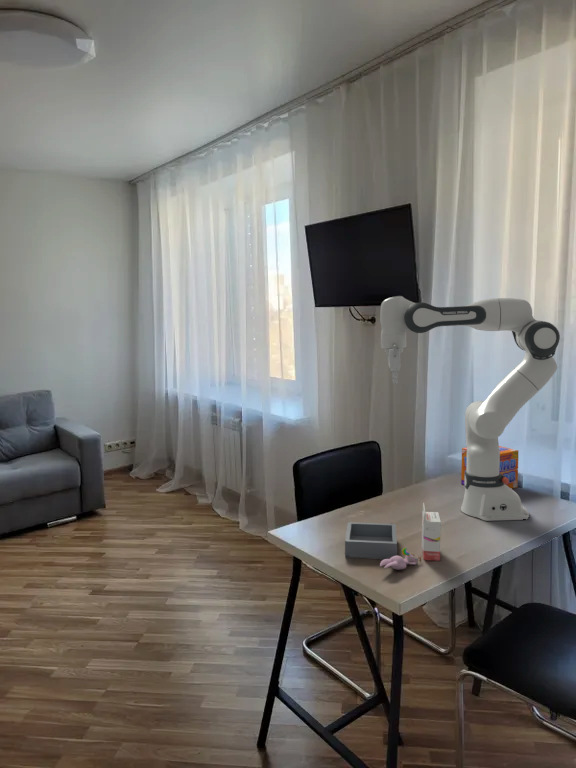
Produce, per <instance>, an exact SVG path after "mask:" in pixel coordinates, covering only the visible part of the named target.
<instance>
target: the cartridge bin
mask: <svg viewBox="0 0 576 768" xmlns="http://www.w3.org/2000/svg"><path fill="white" fill-rule="evenodd" d="M345 532H346V533H345V539H344V558H351V559H368V560H370V559H371V560H384V559H390V558H391V557H393V556H398V540H397V539H398V538H397V525H396V523H381V522H358V521H355V522H354V521H347V526H346V531H345Z"/></svg>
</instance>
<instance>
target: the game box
mask: <svg viewBox="0 0 576 768" xmlns="http://www.w3.org/2000/svg"><path fill="white" fill-rule="evenodd" d="M499 450H500V467H499V473H501V474H502V475H504V476H505V477H507V478H508V480H509V483H508V484H505V485H507V486H508V487H509V488H514V489H517V488H518V483H519V481H518V480H519V479H518V478H519V450H518V449H514V448H508V447H506V446H501V445H499ZM466 466H467V446H466V447H462V448H461V469H460V470H461V471H460V472H461V473H460V475H461V477H460V478H461V480H460V481H461V482H460V483H461V485H462V484H463V486H465V471H466Z"/></svg>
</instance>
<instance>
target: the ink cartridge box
mask: <svg viewBox="0 0 576 768" xmlns="http://www.w3.org/2000/svg"><path fill="white" fill-rule="evenodd" d="M425 507H426V506H425V502H423V503H422V512H421V515H422V516H421V553H422V556H423V557H422V558H423V560H424V561H436V562H437V561H440V560H441V529H442V527H441V525H442V521H441V518H440V514H439V512H438V511H426V508H425Z"/></svg>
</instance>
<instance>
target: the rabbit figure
mask: <svg viewBox="0 0 576 768" xmlns="http://www.w3.org/2000/svg"><path fill="white" fill-rule="evenodd" d="M401 553H402V555H403V556H404V558H403V557H402V556H401V555H397V556H393V557H391V558H390V559H381V561H380V563H379V567H383V566H384V567H383V569H387V568H389V567H391V568H393V569H394V570H405V569H406V568H407V566H408V565H412V566H415V565H417V564H418V563H419V562H422V556H417V557H416V556H415V554H414V553H410V552H409V551H407V547H404V548H402V549H401Z"/></svg>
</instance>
